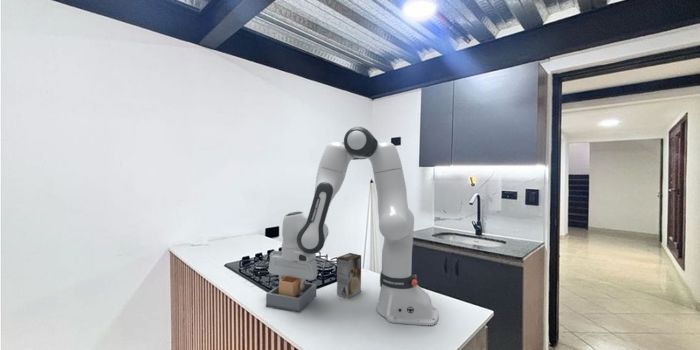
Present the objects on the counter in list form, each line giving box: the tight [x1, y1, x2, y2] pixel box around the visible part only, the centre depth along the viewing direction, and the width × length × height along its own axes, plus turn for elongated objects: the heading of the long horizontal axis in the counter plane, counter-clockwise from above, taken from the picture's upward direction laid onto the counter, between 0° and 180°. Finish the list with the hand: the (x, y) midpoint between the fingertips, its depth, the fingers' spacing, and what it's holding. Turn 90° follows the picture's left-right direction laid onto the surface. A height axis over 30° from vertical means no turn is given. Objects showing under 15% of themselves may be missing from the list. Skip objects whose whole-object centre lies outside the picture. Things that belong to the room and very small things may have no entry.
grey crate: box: [265, 281, 317, 314], centre depth 113 cm, size 14×15×5 cm
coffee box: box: [336, 252, 362, 299], centre depth 121 cm, size 9×6×16 cm
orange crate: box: [278, 276, 306, 297], centre depth 113 cm, size 6×10×6 cm, turn 162°
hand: (292, 287), depth 113 cm, fingers closed on orange crate, 6 cm apart
